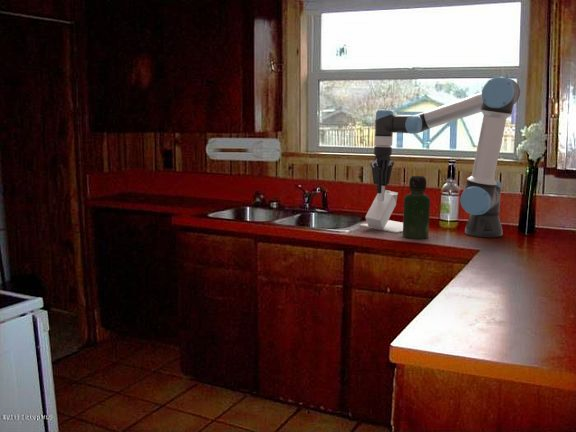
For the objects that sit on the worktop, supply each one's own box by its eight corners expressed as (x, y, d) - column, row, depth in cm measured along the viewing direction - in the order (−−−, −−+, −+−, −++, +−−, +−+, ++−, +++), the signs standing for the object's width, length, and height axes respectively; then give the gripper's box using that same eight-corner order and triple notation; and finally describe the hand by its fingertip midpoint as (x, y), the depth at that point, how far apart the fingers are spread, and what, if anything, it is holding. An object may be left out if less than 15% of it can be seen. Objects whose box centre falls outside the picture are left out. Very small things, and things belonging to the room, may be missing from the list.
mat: (426, 228, 278) (426, 226, 278) (397, 233, 266) (397, 231, 266) (388, 221, 295) (388, 220, 295) (359, 225, 283) (359, 224, 283)
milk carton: (368, 227, 275) (384, 195, 284) (382, 230, 272) (399, 198, 280) (364, 217, 270) (382, 184, 279) (379, 220, 267) (396, 187, 275)
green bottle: (429, 235, 262) (432, 175, 258) (426, 240, 252) (429, 178, 248) (404, 233, 265) (407, 174, 261) (400, 238, 255) (403, 177, 251)
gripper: (386, 145, 275) (384, 198, 279) (366, 146, 267) (363, 200, 271) (399, 146, 270) (397, 200, 274) (379, 147, 261) (376, 202, 265)
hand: (380, 200), depth 272 cm, fingers closed
